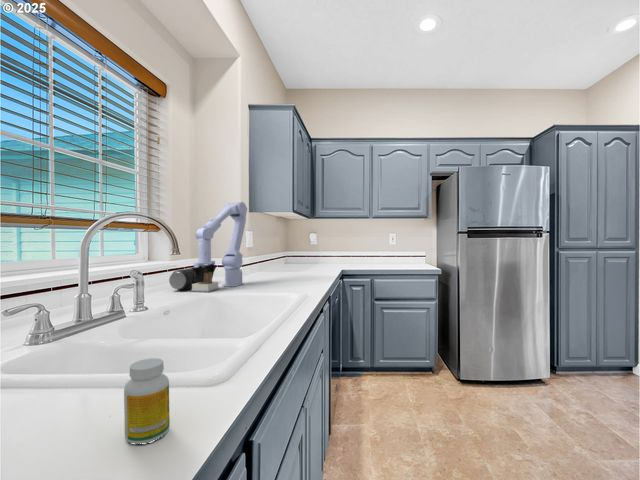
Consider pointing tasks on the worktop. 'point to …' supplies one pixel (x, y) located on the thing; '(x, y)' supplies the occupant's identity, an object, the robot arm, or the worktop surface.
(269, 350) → the worktop surface
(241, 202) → the robot arm
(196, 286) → the socket block
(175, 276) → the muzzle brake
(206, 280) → the walnut plug
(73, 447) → the worktop surface
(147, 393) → the supplement bottle
